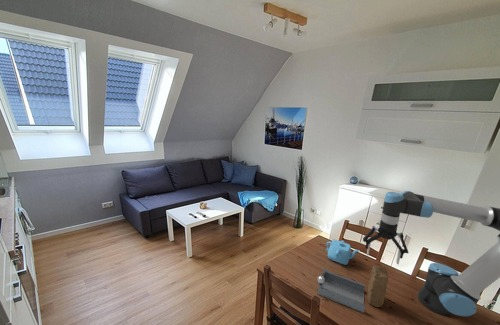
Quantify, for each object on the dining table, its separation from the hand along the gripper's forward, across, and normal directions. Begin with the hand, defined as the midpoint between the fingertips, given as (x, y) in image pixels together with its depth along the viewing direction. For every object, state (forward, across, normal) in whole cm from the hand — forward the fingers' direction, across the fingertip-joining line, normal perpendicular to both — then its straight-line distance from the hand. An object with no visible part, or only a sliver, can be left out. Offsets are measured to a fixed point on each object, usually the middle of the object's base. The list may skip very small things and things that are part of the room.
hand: (382, 258), depth 112 cm
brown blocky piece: (+27, 0, 0) cm, 27 cm away
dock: (+26, +17, +4) cm, 32 cm away
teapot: (+27, +20, -28) cm, 43 cm away
